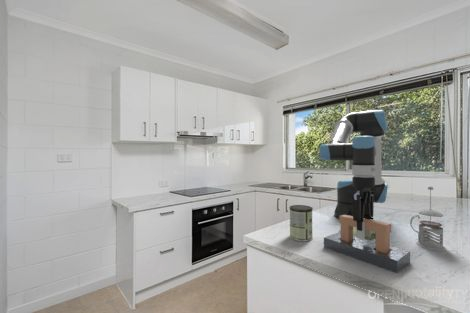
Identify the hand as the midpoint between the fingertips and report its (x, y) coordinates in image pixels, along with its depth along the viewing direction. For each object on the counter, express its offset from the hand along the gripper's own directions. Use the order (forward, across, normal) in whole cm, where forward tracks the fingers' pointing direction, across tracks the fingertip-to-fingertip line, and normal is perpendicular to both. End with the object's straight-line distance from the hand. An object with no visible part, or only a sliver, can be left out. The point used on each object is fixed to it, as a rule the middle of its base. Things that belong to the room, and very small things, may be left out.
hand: (363, 237), depth 87 cm
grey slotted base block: (+7, 0, 0) cm, 7 cm away
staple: (+5, 0, 0) cm, 5 cm away
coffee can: (+7, -4, +26) cm, 27 cm away
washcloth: (+7, +23, +12) cm, 27 cm away
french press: (+7, +31, -12) cm, 34 cm away
